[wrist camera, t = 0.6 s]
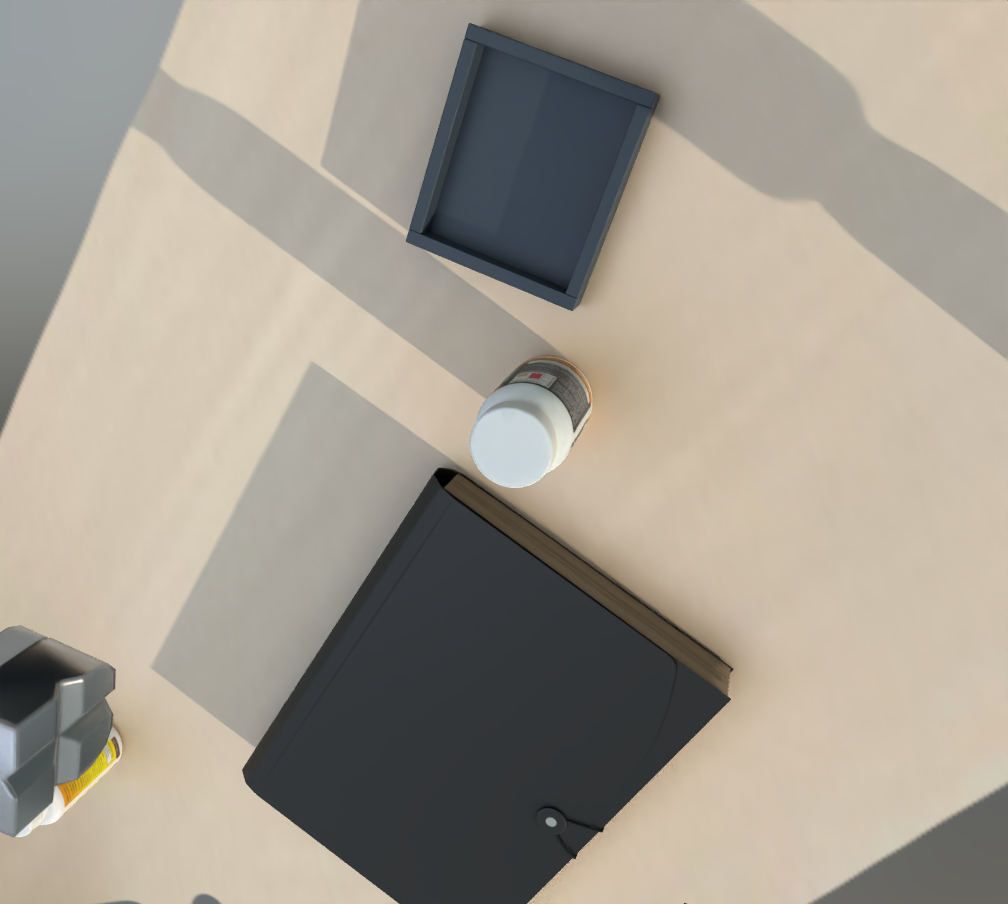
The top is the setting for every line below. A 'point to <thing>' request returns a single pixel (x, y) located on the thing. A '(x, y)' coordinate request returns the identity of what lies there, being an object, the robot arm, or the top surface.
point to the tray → (529, 166)
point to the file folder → (480, 708)
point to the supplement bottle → (78, 784)
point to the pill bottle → (531, 422)
